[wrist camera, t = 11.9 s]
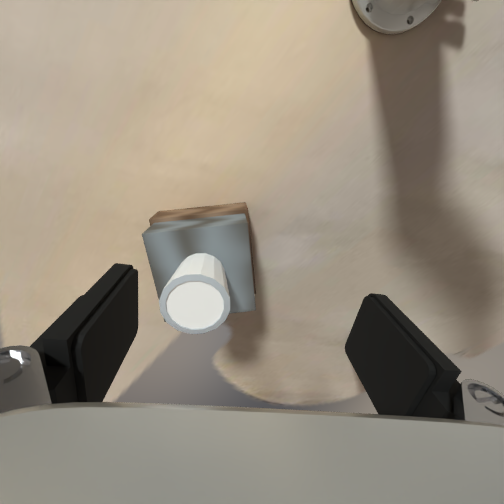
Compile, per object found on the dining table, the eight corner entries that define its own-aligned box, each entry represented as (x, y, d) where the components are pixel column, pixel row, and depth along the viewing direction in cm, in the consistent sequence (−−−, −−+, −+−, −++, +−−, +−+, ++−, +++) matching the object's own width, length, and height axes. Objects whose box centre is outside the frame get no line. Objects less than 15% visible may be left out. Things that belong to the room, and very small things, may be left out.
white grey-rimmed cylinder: (211, 307, 33) (207, 345, 26) (162, 282, 31) (145, 316, 24) (240, 266, 31) (244, 296, 25) (191, 237, 29) (181, 261, 23)
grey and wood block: (245, 202, 38) (251, 218, 29) (252, 278, 43) (259, 312, 34) (158, 211, 38) (136, 230, 28) (175, 287, 42) (161, 325, 33)
